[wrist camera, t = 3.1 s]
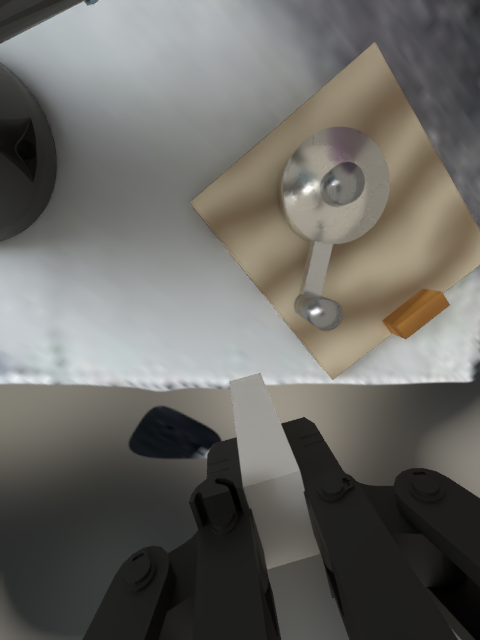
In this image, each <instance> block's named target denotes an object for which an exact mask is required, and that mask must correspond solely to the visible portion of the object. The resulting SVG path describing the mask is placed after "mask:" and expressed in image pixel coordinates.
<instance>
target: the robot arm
mask: <svg viewBox="0 0 480 640" xmlns="http://www.w3.org/2000/svg"><path fill="white" fill-rule="evenodd" d="M83 1H84V2H85V3H86V4H87V6H88V5H92V4H95V3H96V2H97V1H98V0H0V44H1V43H3V42H5V41H7V40H9V39H11V38H12V37H14V36H16V35H18V34H20V33H22V32H24V31H26V30H28V29H30V28H32V27H34V26H36V25H38V24H40V23H42V22H44V21H46V20H48V19H50V18H52V17H54V16H55V15H57V14H59V13H61V12H63V11H65V10H67V9H69V8H71V7H73V6H75V5H77V4H79V3H81V2H83ZM55 178H56V151H55V145H54V140H53V136H52V133H51V130H50V127H49V124H48V122H47V120H46V117H45V115H44V113H43V111H42V110H41V108H40V106H39V104H38V103H37V101H36V100H35V98H34V97H33V95H32V94H31V93H30V91H29V90H28V89H27V88H26V87H25V86H24V84H23V83H22V82H21V81H20V80H19V79H18V78H17V77H16V76H15V75H14V74H13V73H11V72H10V71H9V70H8V69H7V68H6V67H5V66H4V65H3V64H2V63H0V241H2V240H5V239H8V238H11V237H13V236H15V235H17V234H19V233H20V232H22V231H23V230H25V229H26V228H28V227H29V226H30V225H31V224H32V223H33V222H34V221H35V220H36V219H37V218H38V217H39V216H40V214H41V213H42V212H43V210H44V209H45V207H46V205H47V203H48V201H49V199H50V197H51V194H52V191H53V188H54V183H55ZM229 382H230V389H231V397H232V405H233V412H234V421H235V428H236V436H237V437H236V438H232V439H229V440H225V441H222V442H218V443H214V444H213V445H212V447H211V449H210V451H209V453H208V456H207V466H208V467H207V479H206V480H205V481H203V482H202V483H201V484H200V485H198V486H197V488H196V489H195V490H194V492H193V493H192V495H191V498H190V501H189V504H190V506H191V509H192V512H193V515H194V518H195V521H196V524H197V526H198V531H197V533H196V534H195V535H194V536H193V537H192V538H191V539H189V540H188V541H187V542H185V543H184V544H183V545H181V546H179V547H178V548H176V549H174V550H173V551H171V552H170V553H167V552H166V551H165V550H164V549H163V548H162V547H158V546H150V547H146V548H143V549H141V550H139V551H138V552H136V553H134V554H132V555H131V556H130V557H129V558H128V559H127V560H126V561H125V562H124V563H123V564H122V566H121V567H120V569H119V570H118V572H117V573H116V575H115V576H114V578H113V580H112V582H111V584H110V586H109V588H108V590H107V593H106V594H105V596H104V598H103V600H102V602H101V604H100V606H99V608H98V610H97V612H96V614H95V616H94V618H93V620H92V622H91V624H90V626H89V628H88V630H87V632H86V634H85V636H84V638H83V640H281V636H280V630H279V625H278V619H277V614H276V608H275V603H274V597H273V592H272V589H271V585H270V582H269V579H268V573H267V569H270V568H273V567H277V566H280V565H284V564H287V563H290V562H294V561H297V560H300V559H304V558H307V557H310V556H314V555H317V554H320V553H321V556H322V559H323V562H324V566H325V570H326V575H327V579H328V583H329V587H330V591H331V595H332V598H335V600H336V603H337V606H338V609H339V611H340V614H341V617H342V620H343V623H344V626H345V628H346V631H347V634H348V637H349V640H458V639H457V638H456V636H455V635H454V633H453V631H452V630H451V628H452V629H453V630H454V632H455V633H456V634H457V635H458V636H459V637H460V638H461V639H462V640H480V498H478V497H477V496H475V495H474V494H472V493H471V492H469V491H468V490H466V489H465V488H463V487H462V486H460V485H459V484H457V483H456V482H454V481H452V480H451V479H449V478H447V477H446V476H444V475H442V474H440V473H438V472H436V471H432V470H428V469H424V468H412V469H408V470H406V471H403V472H401V473H400V474H399V475H398V476H397V477H396V479H395V483H394V486H370V485H365V484H361V483H359V482H357V481H356V480H355V479H354V478H353V477H352V476H350V475H348V474H346V473H345V472H344V471H343V470H342V468H341V466H340V465H339V463H338V461H337V460H336V458H335V457H334V455H333V453H332V452H331V450H330V448H329V447H328V445H327V443H326V442H325V441H324V439H323V437H322V435H321V434H320V432H319V430H318V429H317V427H316V425H315V424H314V423H313V422H311V421H310V420H308V419H306V418H305V417H303V418H300V419H296V420H292V421H289V422H286V423H282V424H281V423H280V420H279V418H278V415H277V413H276V411H275V409H274V406H273V403H272V401H271V398H270V396H269V393H268V391H267V389H266V386H265V384H264V381H263V379H262V376H261V374H260V373H259V374H255V375H251V376H248V377H244V378H240V379H237V380H233V381H229ZM319 550H320V551H319ZM266 566H267V567H266ZM449 626H450V627H451V628H450V627H449Z"/></svg>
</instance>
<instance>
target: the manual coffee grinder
mask: <svg viewBox="0 0 480 640" xmlns="http://www.w3.org/2000/svg"><path fill="white" fill-rule="evenodd" d="M389 191H390V174H389V168H388V165H387V161H386V159H385V157H384V155H383V153H382V151H381V149H380V148H379V147H378V145H377V144H376V143H375V142H374V141H373V140H372V139H371V138H370V137H369V136H367V135H366V134H364V133H362V132H360V131H359V130H356V129H353V128H348V127H330V128H327V129H323V130H321V131H319V132H316V133H315V134H313V135H311V136H310V137H309V138H307V139H306V140H305V141H304V142H303V143H302V144H301V145H300V146H299V147H298V148H297V150H296V151H295V152H294V153H293V155H292V156H291V157H290V159H289V160H288V162H287V163H286V165H285V167H284V169H283V172H282V174H281V178H280V182H279V194H278V196H279V204H280V209H281V212H282V215H283V217H284V219H285V221H286V223H287V224H288V226H289V227H290V228H291V229H292V230H293V232H294V233H296V234H297V235H298V236H299V237H301V238H302V239H304V240H306V241H308V242H310V247H309V252H308V256H307V260H306V265H305V269H304V274H303V278H302V282H301V287H300V291H299V295H298V296H297V298H296V299H295V302H294V309H295V314H297V315H299V316H300V317H302V318H303V319H305V320H306V321H308V322H309V323H311V324H312V325H314V326H315V327H317V328H318V329H320V330H322V331H330V330H333V329H335V328H336V327H338V326H339V324H340V323H341V321H342V319H343V310H342V307H341V305H340V304H339V303H338V302H336V301H334V300H331V299H329V298H326V297H323V296H321V292H322V288H323V284H324V280H325V276H326V272H327V267H328V263H329V259H330V255H331V251H332V247H333V245H334V244H342V243H347V242H350V241H353V240H355V239H357V238H359V237H361V236H362V235H364V234H365V233H366V232H368V231H369V230H370V229H371V228H372V227H373V226H374V225H375V224H376V222H377V221H378V220H379V218H380V216H381V215H382V213H383V211H384V209H385V207H386V203H387V200H388V196H389Z"/></svg>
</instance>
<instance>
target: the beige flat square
mask: <svg viewBox="0 0 480 640" xmlns="http://www.w3.org/2000/svg"><path fill="white" fill-rule="evenodd" d="M330 127H348V128H353V129H356V130H359V131H360V132H362V133H364V134H366V135H367V136H369V137H370V138H371V139H372V140H373V141H374V142H375V143H376V144H377V145H378V147H379V148H380V149H381V151H382V153H383V155H384V157H385V159H386V161H387V165H388V168H389V174H390V191H389V196H388V200H387V203H386V207H385V209H384V211H383V213H382V215H381V216H380V218H379V220H378V221H377V222H376V224H375V225H374V226H373V227H372V228H371V229H370V230H369V231H368V232H366V233H365V234H364V235H362V236H361V237H359V238H357V239H355V240H353V241H350V242H347V243H342V244H334V245H333V247H332V251H331V255H330V259H329V263H328V267H327V272H326V276H325V280H324V284H323V288H322V292H321V296H323V297H326V298H329V299H331V300H334V301H336V302H338V303H339V304H340V305H341V307H342V310H343V319H342V321H341V323H340V324H339V326H338V327H336V328H335V329H333V330H330V331H322V330H320V329H318V328H317V327H315V326H314V325H312V324H311V323H309V322H308V321H306V320H305V319H303V318H302V317H300V316H299V315H297V314H295V309H294V302H295V299H296V298H297V296H298V295H299V291H300V287H301V282H302V278H303V274H304V269H305V265H306V260H307V256H308V252H309V247H310V242H308V241H306V240H304V239H302V238H301V237H299V236H298V235H297V234H296V233H294V232H293V230H292V229H291V228H290V227H289V226H288V224H287V223H286V221H285V219H284V217H283V215H282V212H281V209H280V204H279V196H278V194H279V182H280V178H281V174H282V172H283V169H284V167H285V165H286V163H287V162H288V160H289V159H290V157H291V156H292V155H293V153H294V152H295V151H296V150H297V148H298V147H299V146H300V145H301V144H302V143H303V142H304V141H305V140H306V139H307V138H309V137H310V136H311V135H313V134H315V133H316V132H319V131H321V130H323V129H327V128H330ZM190 203H191V205H192V206H193V208H194V209H195V210H196V211H197V213H198V214H199V215H200V216H201V218H202V219H203V220H204V221H205V223H206V224H207V225H208V226H209V228H210V229H211V230H212V231H213V232H214V234H215V235H216V236H217V237H218V239H219V240H220V241H221V242H222V244H223V245H224V246H225V247H226V249H227V250H228V251H229V252H230V254H231V255H232V256H233V257H234V259H235V260H236V261H237V262H238V264H239V265H240V266H241V267H242V269H243V270H244V271H245V272H246V274H247V275H248V276H249V277H250V279H251V280H252V281H253V282H254V284H255V285H256V286H257V287H258V289H259V290H260V291H261V292H262V294H263V295H264V296H265V297H266V298H267V300H268V301H269V302H270V303H271V305H272V306H273V307H274V308H275V310H276V311H277V312H278V313H279V315H280V316H281V317H282V318H283V320H284V321H285V322H286V323H287V325H288V326H289V327H290V328H291V330H292V331H293V332H294V333H295V335H296V336H297V337H298V338H299V340H300V341H301V342H302V343H303V345H304V346H305V347H306V348H307V350H308V351H309V352H310V353H311V355H312V356H313V357H314V358H315V360H316V361H317V362H318V363H319V364H320V366H321V367H322V368H323V369H324V371H325V372H326V373H327V374H328V375H329V376H330V377H331V379H332V380H333V379H334V378H336V377H337V376H338V375H340V374H341V373H342V372H343V371H345V370H346V369H347V368H349V367H350V366H351V365H352V364H354V363H355V362H356V361H357V360H359V359H360V358H361V357H363V356H364V355H365V354H366V353H368V352H369V351H370V350H371V349H373V348H374V347H375V346H377V345H378V344H379V343H380V342H382V341H383V340H384V339H385V338H387V337H388V336H389V335H391V334H392V333H393V334H395V335H397V336H400V337H402V338H404V339H407V338H408V337H410V336H411V335H412V334H413V333H415V332H416V331H417V330H419V329H420V328H421V327H422V326H424V325H425V324H426V323H428V322H429V321H430V320H431V319H433V318H434V317H435V316H436V315H438V314H439V313H440V312H442V311H443V310H444V309H445V308H447V307H448V306H449V305H450V304H449V303H448V301H447V299H446V298H445V296H444V295H443V293H444V292H445V291H447V290H448V289H449V288H451V287H452V286H453V285H454V284H456V283H457V282H458V281H459V280H461V279H462V278H463V277H465V276H466V275H467V274H468V273H470V272H471V271H472V270H473V269H475V268H476V267H477V266H479V265H480V229H479V228H478V226H477V224H476V222H475V220H474V219H473V217H472V215H471V213H470V212H469V210H468V208H467V206H466V204H465V203H464V201H463V199H462V197H461V195H460V194H459V192H458V190H457V188H456V186H455V185H454V183H453V181H452V179H451V177H450V176H449V174H448V172H447V170H446V168H445V167H444V165H443V163H442V161H441V160H440V158H439V156H438V154H437V152H436V151H435V149H434V147H433V145H432V143H431V142H430V140H429V138H428V136H427V134H426V133H425V131H424V129H423V127H422V125H421V124H420V122H419V120H418V118H417V116H416V115H415V113H414V111H413V109H412V108H411V106H410V104H409V102H408V100H407V99H406V97H405V95H404V93H403V91H402V90H401V88H400V86H399V84H398V82H397V81H396V79H395V77H394V75H393V73H392V72H391V70H390V68H389V66H388V64H387V63H386V61H385V59H384V57H383V56H382V54H381V52H380V50H379V48H378V47H377V45H376V43H375V42H374V43H373V44H372V45H371V46H370V47H369V48H367V49H366V50H365V51H364V52H363V53H362V54H360V55H359V56H358V57H357V58H356V59H355V60H354V61H352V62H351V63H350V64H349V65H348V66H347V67H345V68H344V69H343V70H342V71H341V72H340V73H339V74H337V75H336V76H335V77H334V78H333V79H332V80H330V81H329V82H328V83H327V84H326V85H325V86H324V87H322V88H321V89H320V90H319V91H318V92H317V93H315V94H314V95H313V96H312V97H311V98H310V99H309V100H307V101H306V102H305V103H304V104H303V105H302V106H301V107H299V108H298V109H297V110H296V111H295V112H294V113H292V114H291V115H290V116H289V117H288V118H287V119H286V120H284V121H283V122H282V123H281V124H280V125H279V126H277V127H276V128H275V129H274V130H273V131H272V132H271V133H269V134H268V135H267V136H266V137H265V138H264V139H262V140H261V141H260V142H259V143H258V144H257V145H256V146H254V147H253V148H252V149H251V150H250V151H249V152H248V153H246V154H245V155H244V156H243V157H242V158H241V159H239V160H238V161H237V162H236V163H235V164H234V165H233V166H231V167H230V168H229V169H228V170H227V171H226V172H224V173H223V174H222V175H221V176H220V177H219V178H218V179H216V180H215V181H214V182H213V183H212V184H211V185H209V186H208V187H207V188H206V189H205V190H204V191H203V192H201V193H200V194H199V195H198V196H197V197H196V198H194V199H193V200H192V201H191V202H190Z"/></svg>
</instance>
